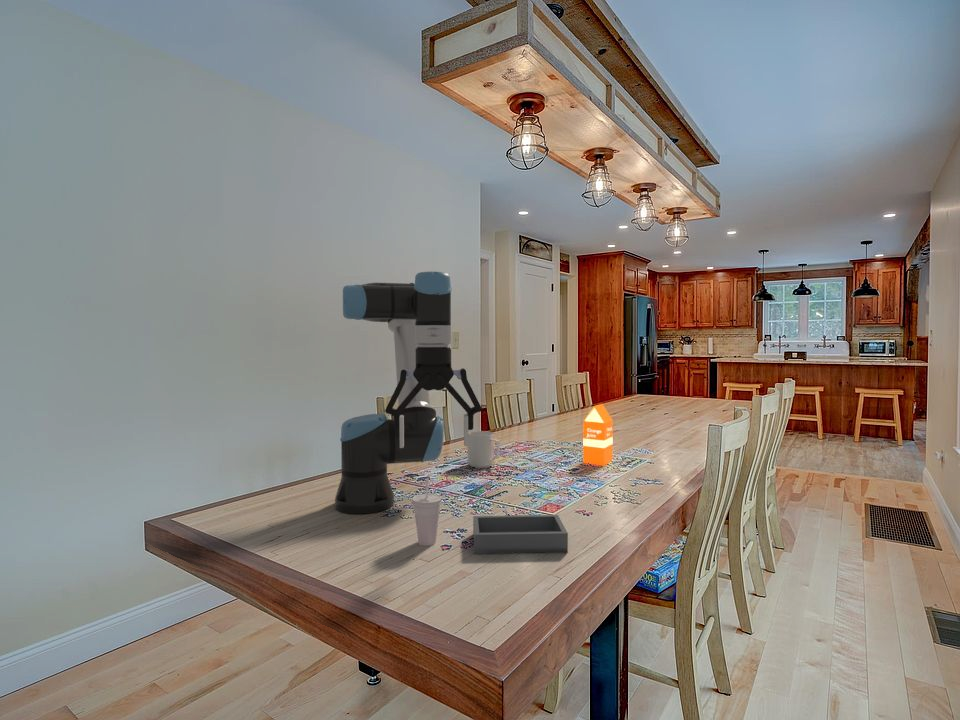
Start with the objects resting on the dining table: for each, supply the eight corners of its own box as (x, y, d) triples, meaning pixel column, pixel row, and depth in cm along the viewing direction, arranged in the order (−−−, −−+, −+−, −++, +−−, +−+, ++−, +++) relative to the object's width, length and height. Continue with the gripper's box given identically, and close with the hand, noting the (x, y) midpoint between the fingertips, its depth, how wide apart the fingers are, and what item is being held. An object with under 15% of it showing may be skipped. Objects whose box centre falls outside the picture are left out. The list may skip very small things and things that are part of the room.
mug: (462, 466, 179) (462, 434, 178) (477, 461, 186) (477, 430, 185) (491, 472, 171) (491, 438, 171) (506, 466, 179) (506, 433, 178)
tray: (473, 533, 118) (473, 516, 118) (557, 532, 119) (557, 514, 118) (474, 554, 107) (474, 534, 107) (567, 552, 108) (567, 533, 107)
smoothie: (414, 550, 109) (413, 483, 109) (410, 538, 115) (409, 475, 115) (444, 546, 111) (444, 480, 110) (439, 535, 117) (438, 473, 116)
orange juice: (612, 460, 187) (613, 404, 186) (604, 465, 179) (604, 407, 178) (591, 457, 191) (591, 402, 190) (582, 462, 183) (582, 405, 182)
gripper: (371, 346, 106) (372, 451, 107) (494, 345, 109) (494, 448, 110) (375, 346, 114) (376, 443, 115) (490, 345, 116) (490, 441, 117)
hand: (434, 446), depth 112 cm, fingers open, 13 cm apart
